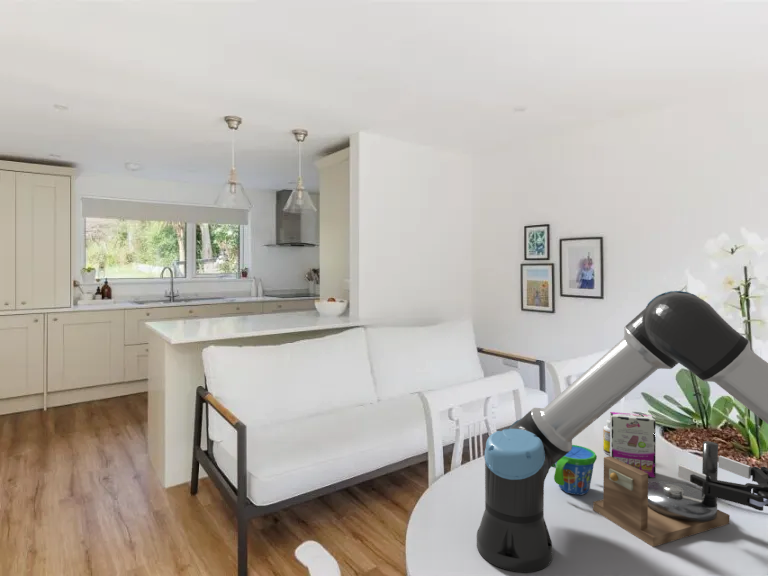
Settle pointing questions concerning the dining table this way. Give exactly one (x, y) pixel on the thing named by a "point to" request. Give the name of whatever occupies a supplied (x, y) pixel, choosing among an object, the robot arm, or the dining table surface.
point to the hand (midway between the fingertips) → (699, 466)
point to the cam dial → (687, 493)
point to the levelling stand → (643, 507)
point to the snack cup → (575, 470)
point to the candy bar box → (633, 440)
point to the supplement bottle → (607, 438)
